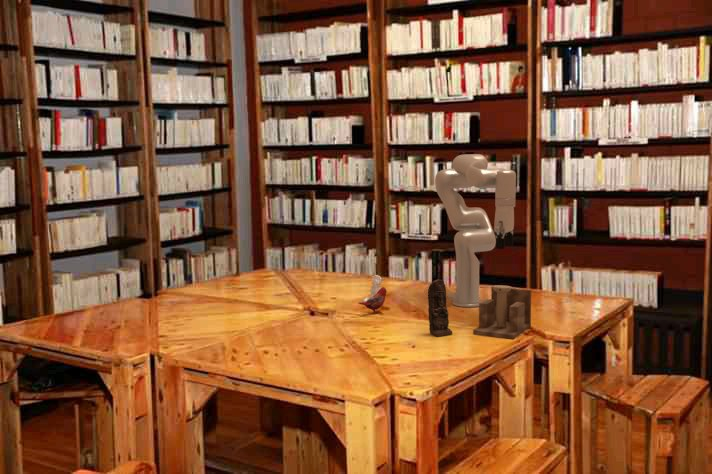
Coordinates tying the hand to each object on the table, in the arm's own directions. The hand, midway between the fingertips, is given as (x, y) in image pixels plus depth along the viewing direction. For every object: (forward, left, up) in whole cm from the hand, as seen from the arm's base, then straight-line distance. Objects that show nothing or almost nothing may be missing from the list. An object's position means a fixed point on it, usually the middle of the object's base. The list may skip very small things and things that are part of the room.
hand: (504, 247), depth 310 cm
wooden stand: (+6, -18, -28) cm, 34 cm away
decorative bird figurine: (-49, -16, -28) cm, 59 cm away
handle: (+5, -18, -27) cm, 33 cm away
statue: (-13, -32, -28) cm, 45 cm away
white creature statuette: (-58, +3, -29) cm, 65 cm away
